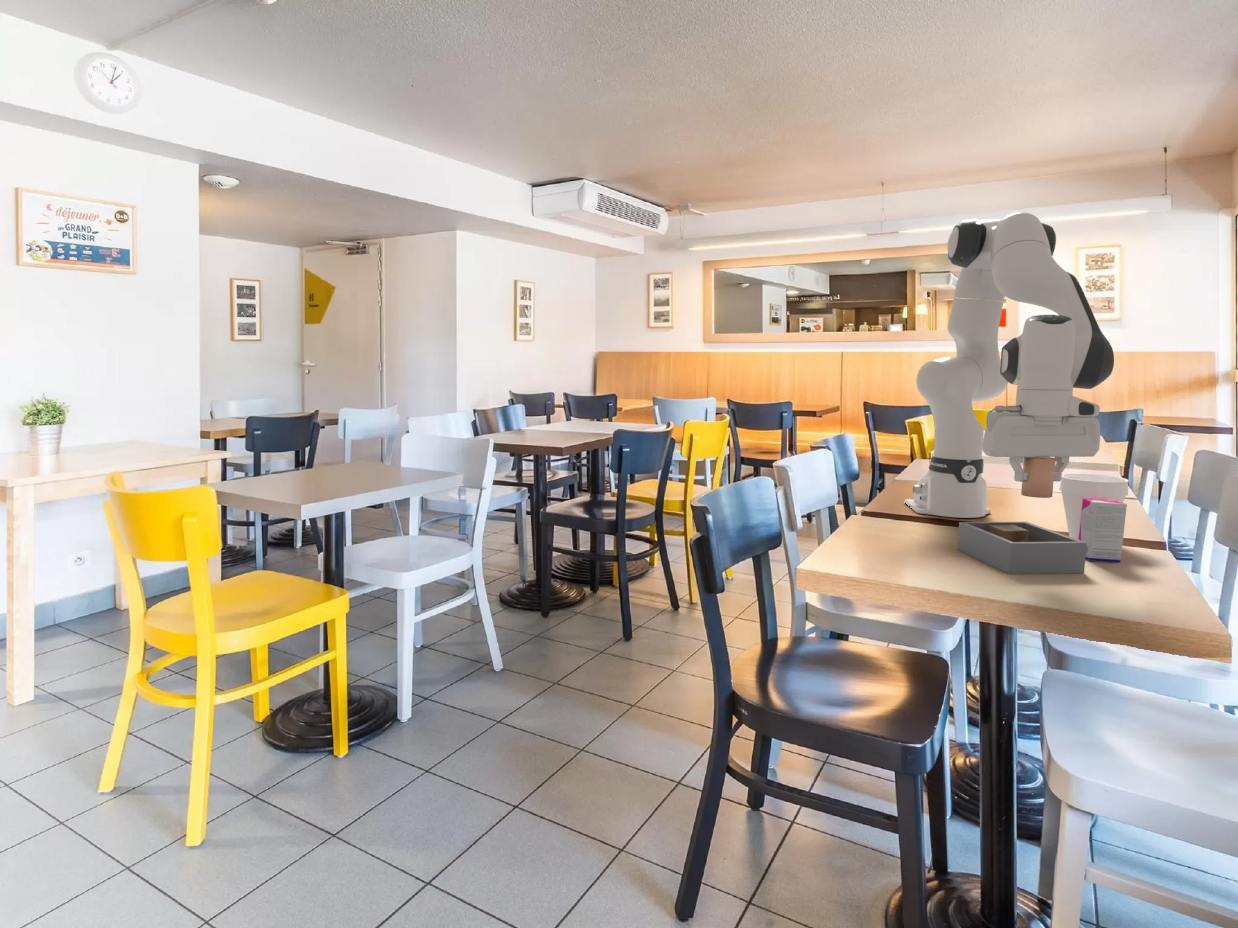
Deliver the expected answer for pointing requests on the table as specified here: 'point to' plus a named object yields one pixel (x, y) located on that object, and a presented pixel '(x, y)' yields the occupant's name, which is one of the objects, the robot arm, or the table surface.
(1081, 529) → the supplement box
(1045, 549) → the tote
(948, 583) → the table surface
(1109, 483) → the cup
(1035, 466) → the cylinder
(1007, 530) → the block
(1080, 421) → the robot arm
